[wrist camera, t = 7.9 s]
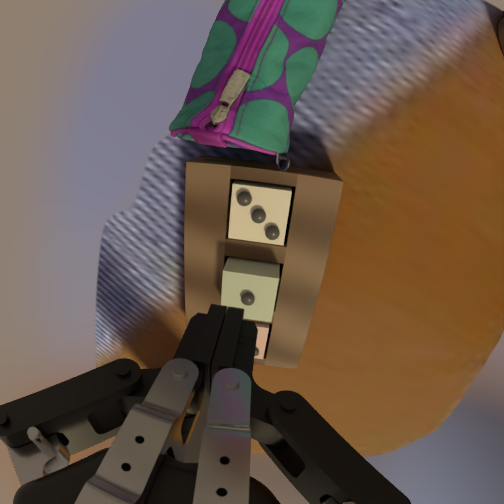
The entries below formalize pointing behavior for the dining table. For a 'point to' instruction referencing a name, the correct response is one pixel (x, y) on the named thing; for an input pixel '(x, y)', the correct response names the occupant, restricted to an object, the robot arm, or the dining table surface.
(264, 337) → the button two dots
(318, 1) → the pencil case
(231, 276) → the button one dot
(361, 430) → the dining table surface
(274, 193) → the button three dots
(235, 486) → the robot arm
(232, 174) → the button panel
